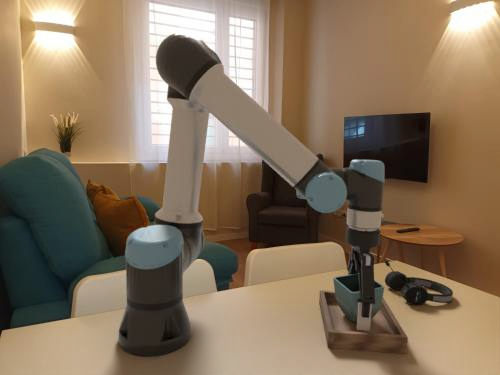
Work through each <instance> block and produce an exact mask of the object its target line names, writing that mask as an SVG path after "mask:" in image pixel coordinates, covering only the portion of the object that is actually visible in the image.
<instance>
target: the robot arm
mask: <svg viewBox="0 0 500 375" xmlns="http://www.w3.org/2000/svg"><path fill="white" fill-rule="evenodd" d="M155 65H156V70H157V72H158V75H159V77H160V79H161V80H163V82H164V83H165V84H166V85H167V95H166V101H167V102H168V104H170V107H171V108H172V111H171V120H170V130H169V139H168V140H169V142H168V148H167V160H166V168H165V176H164V178H165V179H164V180H165V181H164V190H163V196H162V197H163V200H162V207H161V208H160V209H159V210H158V211H156V212H155V214H154V222H153V224H151V225H147V226H146V227H141V228H137V229H135V230H134V231H132V232H131V233H130V234H129V235H128V236H127V238H126V243H125V250H124V258H125V277H126V278H125V280H126V282H125V283H126V284H125V286H126V288H125V289H126V307H125V310H124V312H123V316H122V319H121V321H120V325H119V328H118V344H119V346H120V347H121V350H123V351H125V352H126V353H129V354H132V355H136V356H145V357H148V356H149V357H150V356H154V357H155V356H159V355H165V354H168V353H172V352H174V351H176V350H179V349H180V348H182V347H184V346H185V345H186V344H187V343H188V342H189V340H190V338H191V334H192V332H191V329H192V327H191V326H192V323H191V320H190V317H189V314H188V313H187V312H188V311H187V309H186V306H185V304H184V300H183V298H184V296H183V295H184V291H183V290H184V288H183V286H184V273H185V272H186V270H187V269H188V268H189V267H190V266H191V265H192V264H193V263H194V262H195V261H197V259H198V258H199V257H200V255H201V253H202V252H203V249H204V246H205V233H204V230H203V221H204V217H203V216H202V215H201V213H200V212H199V202H200V196H201V195H200V194H201V187H202V177H203V168H204V160H205V152H206V144H207V135H208V126H209V119H210V118H209V117H210V114H211V115H212V116H213V117H214V118H215V119H217V120H218V121H219V122H220V123H221V124H222V125H224V126H225V128H226V129H228V130H229V131H230V132H231V133H232V134H233V135H234V136H236V137H237V138H238V140H240V141H241V142H242V143H243V144H244V145H246V146H247V147H248V148H249V149H250V150H251V151H252V152H254V154H256V156H258V157H259V158H260V159H261V160H263V161H264V163H266V164H267V165H268V166H269V167H270V168H271V169H272V170H273V171H275V172H276V173H277V174H278V175H279V176H280V177H281V178H282V179H283V180H284V181H286V182H287V183H288V184H289V185H290V186H291V187H292V188H294V189H295V190H296V193H295V194H296V197H297V198H298V199H303V200H306V202H307V203H308V205H309V206H310V207H311V208H312V209H314V210H315V211H317V212H318V213H319V212H320V213H323V214H330V213H334V212H336V211H338V210H339V209H340V208H342V207H343V205H344V204H345V202H347V203H348V204H347V208H346V209H347V210H346V225H347V227H346V228H345V230H346V231H345V242H346V244H348V245H350V252H349V259H348V262H347V263H348V264H347V268H346V270H347V275H350V274H356V273H358V279H359V292H360V299H357V302H358V315H357V330H367V331H370V323H371V309H372V304H375V287H374V280H375V257H374V255H373V254H372V253H371V249H372V248H377V247H379V246H380V243H381V229H380V228H381V227H382V226H381V225H382V219H383V218H385V215H384V213H383V212H382V211H383V201H384V191H385V189H384V188H385V182H386V181H385V176H386V175H385V164H384V162H383V161H382V160H376V159H352V160H351V161H350V162H349V163H350V164H349V167H341V168H340V167H329V166H328V165H327V164H326V163H324V161H322V160H321V159H320V158H319V157H318V156H317V155H315V153H313V152H312V151H311V150H310V149H309V148H308V147H307V146H305V145H304V144H303V143H302V141H300V140H299V139H298V138H296V136H294V134H292V133H291V132H290V131H289V130H288V129H287V128H285V127H284V125H282V124H281V123H280V122H279V121H278V120H277V119H276V118H274V117H273V116H272V115H271V114H270V113H269V112H268V111H267V110H266V109H264V107H262V106H261V105H260V104H259V103H258V102H257V101H255V100H254V99H253V97H251V96H250V95H249V94H248V93H247V92H246V91H244V90H243V89H242V88H241V87H240V86H239V85H238V84H237V83H236V82H234V80H232V79H231V78H230V77H229V76H228V75H227V74H226V73H225V68H224V64H223V63H222V59H220V56H218V54H217V53H216V52H215V51H214V50H213V49H212V48H210V47H209V46H208V44H206V43H205V41H204V40H203V39H201V38H200V37H199V36H197V35H196V34H193V33H191V32H185V31H184V32H183V31H182V32H180V31H179V32H175V33H171V34H170V35H168V36H167V37H165V38H164V39H163V40H162V41H161V43H159V46H158V48H157V50H156V54H155Z"/></svg>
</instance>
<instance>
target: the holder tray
mask: <svg viewBox="0 0 500 375" xmlns="http://www.w3.org/2000/svg"><path fill="white" fill-rule="evenodd" d="M318 296H319V299H318V301H319V302H318V305H319V311H320V315H321V319H322V325H323V330H324V334H325V340H326V346H327V348H329V349H340V350H353V351H366V352H367V351H368V352H377V353H378V352H379V353H388V354H389V353H391V354H403V355H404V354H405V355H406V354H407V352H408V342H409V337H408V336H407V334H406V332H405V331H404V330H403V327H402V326H401V324H400V322H399V321H398V319H397V318H396V316H395V315H394V312H393V311H392V309H391V308H390V306H389V305H388V303H387V302H386V300H385V298H384V297H383V298H382V303H381V306H380V309H379V311H378V312H377V314H376V315H375V316H374V317H373V318H372V319H371V323H370V331H367V330H357V322H355V323H354V322H352V321H351V320H350V319H349V318H348V317H347V316H346V315H345V314H344V313H343V312H342V310H341V309H340V307H339V305H338V303H337V300H336V296H335V290H321V289H320V290H319V295H318Z"/></svg>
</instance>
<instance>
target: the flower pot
mask: <svg viewBox="0 0 500 375" xmlns="http://www.w3.org/2000/svg"><path fill="white" fill-rule="evenodd" d="M332 279H333V286H334V287H333V288H334V291H335V296H336V300H337V303H338V305H339V307H340V309H341V310H342V312H343V313H344V314H345V315H346V316H347V317H348V318H349V319H350V320H351V321H352V322H354V323H355V322H357V315H358V302H357V299H360V292H359V279H358V273H356V274H350V275H348V274H345V275H339V276H334V277H333V278H332ZM374 287H375V304H372V309H371V319H372V318H373V317H374V316H375V315H376V314H377V312H378V311H379V309H380V306H381V303H382V298H384V292H385V286H384V285H382V284H381V283H380V282H378V281H377V280H375V279H374Z"/></svg>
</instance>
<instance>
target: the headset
mask: <svg viewBox="0 0 500 375" xmlns="http://www.w3.org/2000/svg"><path fill="white" fill-rule="evenodd" d="M384 264H385V266H387V267H389V269H391V270H392V271H390V272H388V273H387V275H386V276H385V278H384V283H385V285H386V286H387V287H388V288H390V290H392V291H395V292H400V291H401V296H402V298H403V299H404V300H405V301H406V302H407V303H408V304H410V305H412V306H422V305H424V304H425V303H427V302H433V303H440V304H448V303H451V302H452V299H453V295H454V292H453V290H452V289H451V288H450V287H449V286H447V285H445V284H443V283H440V282H437V281H434V280H431V279H427V278H422V277H415V276H414V277H413V276H410V277H409V276H407V275H406V274H404V273H403V272H401V271H398V270H396V271H395V270H394V269H393V268H392V267H391V264H390V262H389V261H388V260H385V261H384ZM425 288H427V289H431V290H433V291H436V292H438V293H430V292H428V291H427V289H425ZM440 293H441V294H440Z"/></svg>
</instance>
